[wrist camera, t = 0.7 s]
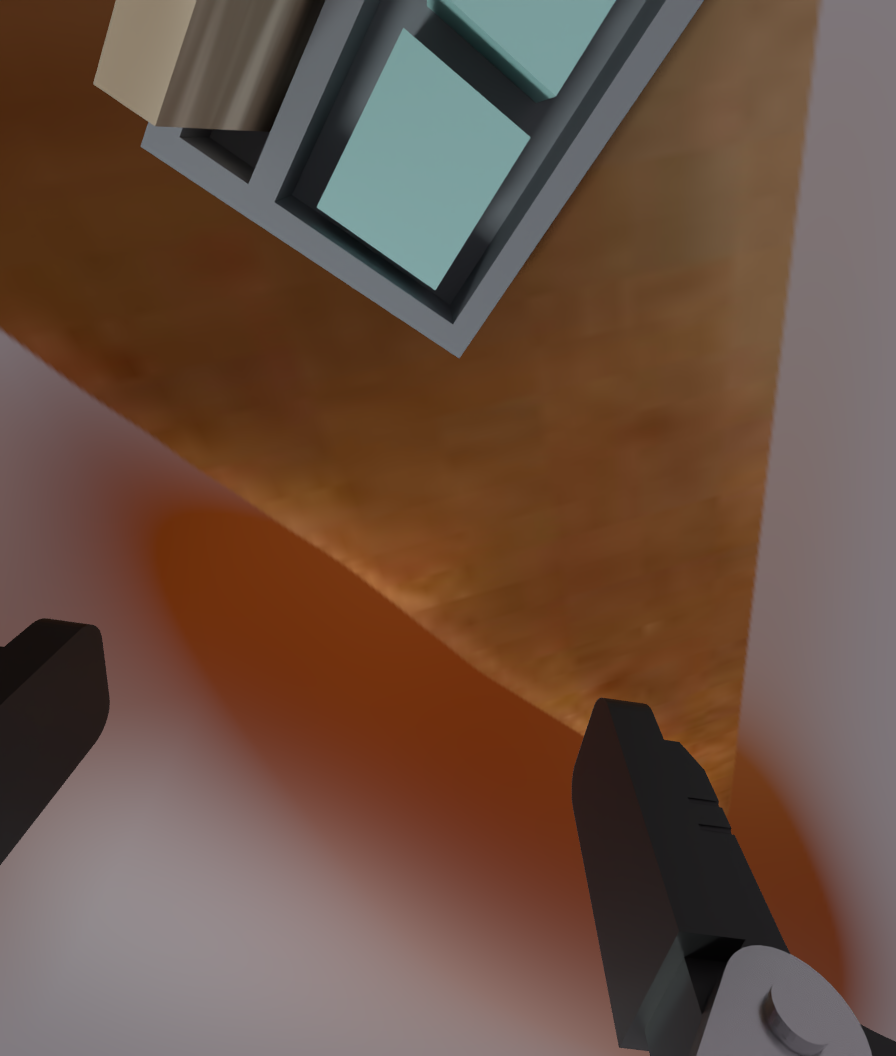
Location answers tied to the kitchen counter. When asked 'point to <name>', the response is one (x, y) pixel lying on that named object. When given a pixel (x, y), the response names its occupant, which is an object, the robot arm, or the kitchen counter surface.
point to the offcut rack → (335, 108)
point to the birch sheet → (205, 59)
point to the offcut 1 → (421, 163)
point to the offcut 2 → (527, 36)
